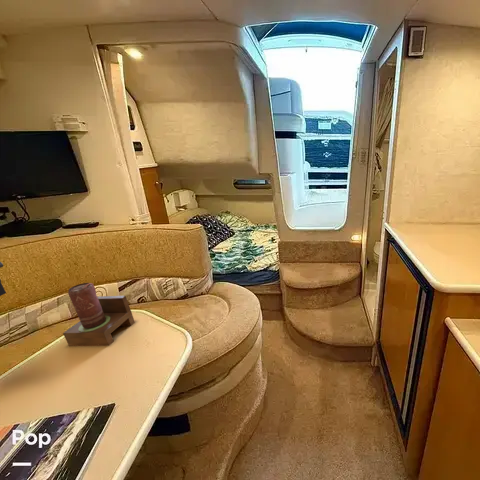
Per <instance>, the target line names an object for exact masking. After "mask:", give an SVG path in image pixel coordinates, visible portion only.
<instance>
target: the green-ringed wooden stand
mask: <svg viewBox="0 0 480 480" xmlns="http://www.w3.org/2000/svg"><path fill="white" fill-rule="evenodd" d="M97 297H98V300H99V302H100V305H101V307H102V310H103V312H104V315H105V317H106V319H105V322H104V323H103V324H101V325H99V326H97V327H95V328H91V329H86V328H84V327H83V326H82V324H81V321H80V320H79V321H77V322H76V323H75V324H74V325H72V326H71V327H69V328H68V329H66V330H65V331H63V332H62V334H63V337H64V339H65V341H66V343H67V345H68V347H104V346H105V347H109V346H111V345H112V343H114V342H115V341H114V338H113V336H112V333H113V332H114V331H116V330H117V329H118V328H119V327H131V326H133V325H134V324H135V323H136V321H135V318H134V315H133V313H132V310H131V307H130V304H129V301H128V298H127V296H126V295H102V296H101V295H100V296H99V295H97Z"/></svg>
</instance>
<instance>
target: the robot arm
mask: <svg viewBox="0 0 480 480" xmlns="http://www.w3.org/2000/svg"><path fill="white" fill-rule="evenodd" d="M3 267H4V264H3V262H2V261H0V269H2V268H3ZM5 294H7V292H6V289H5V287H4V286H3V284H2V280H1V278H0V297H2V296H4V295H5Z"/></svg>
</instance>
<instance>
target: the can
mask: <svg viewBox="0 0 480 480" xmlns="http://www.w3.org/2000/svg"><path fill="white" fill-rule="evenodd" d="M67 294H68V298H69V299H70V302H71V304H72V306H73V308H74V310H75V312H76V314H77V318H78V319H79V321H81V324H82V326H83V327H84V328H86V329H91V328H95V327H97V326H99V325H101V324H103V323H104V322H105V319H106V317H105V315H104V312H103V310H102V307H101V305H100V302H99V300H98V297H97V296H98V295H97V291H96V286H95V285H94V283H92V282H82V283H78V284H76V285H74V286H72V287H70V288H69V289H68V292H67Z"/></svg>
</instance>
